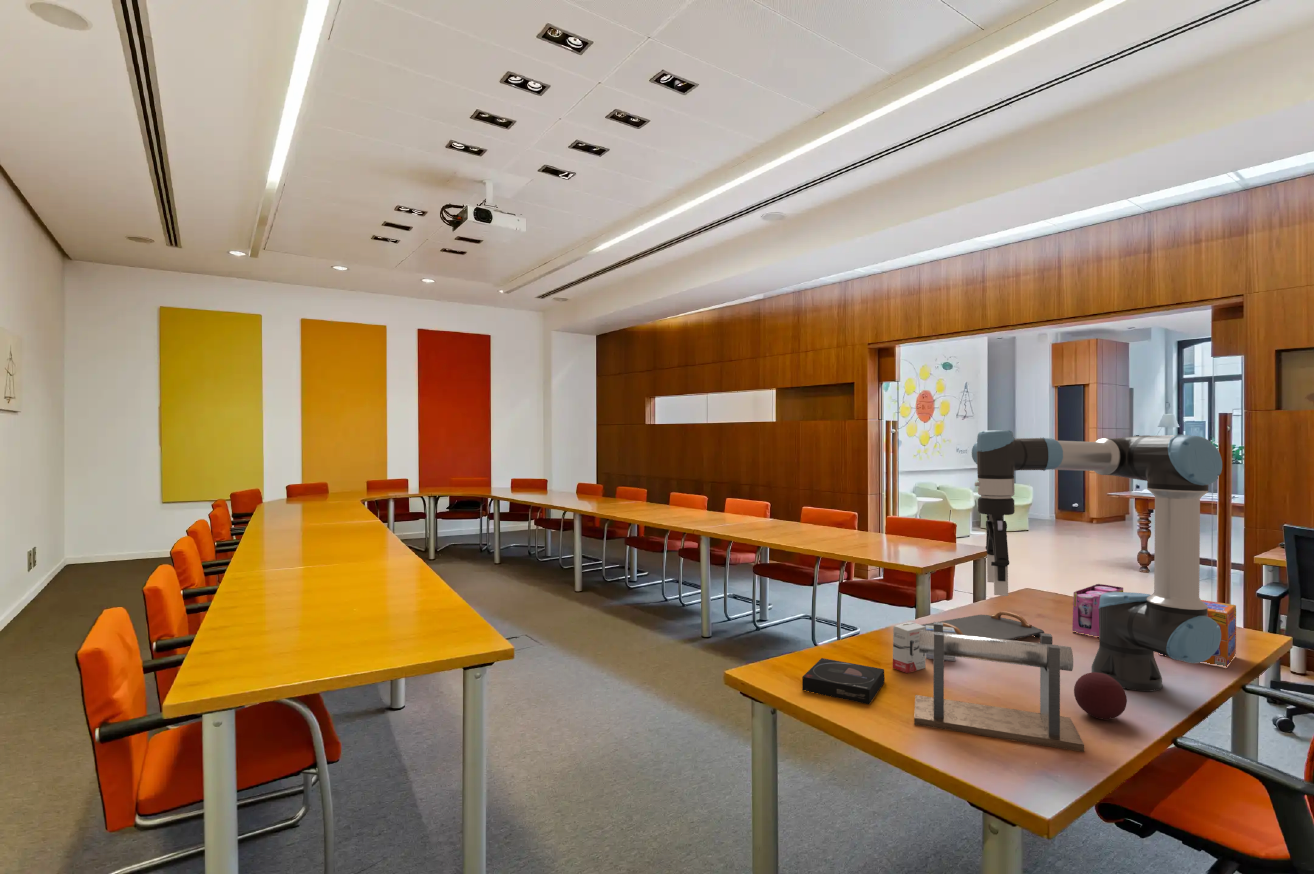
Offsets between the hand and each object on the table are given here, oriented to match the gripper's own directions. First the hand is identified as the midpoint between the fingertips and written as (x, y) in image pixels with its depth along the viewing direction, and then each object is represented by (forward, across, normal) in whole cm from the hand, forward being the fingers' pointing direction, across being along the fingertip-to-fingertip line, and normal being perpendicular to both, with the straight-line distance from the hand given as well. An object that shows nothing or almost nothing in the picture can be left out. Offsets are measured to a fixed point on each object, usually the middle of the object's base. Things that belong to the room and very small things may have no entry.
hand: (997, 588), depth 149 cm
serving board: (+30, -66, +2) cm, 72 cm away
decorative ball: (+29, -6, +21) cm, 37 cm away
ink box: (+29, -24, -20) cm, 43 cm away
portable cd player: (+29, -4, -35) cm, 46 cm away
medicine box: (+29, -37, -11) cm, 49 cm away
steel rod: (+15, +6, -2) cm, 16 cm away
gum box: (+31, -89, +40) cm, 102 cm away
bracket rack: (+29, +7, -2) cm, 30 cm away
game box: (+31, -68, +60) cm, 96 cm away
